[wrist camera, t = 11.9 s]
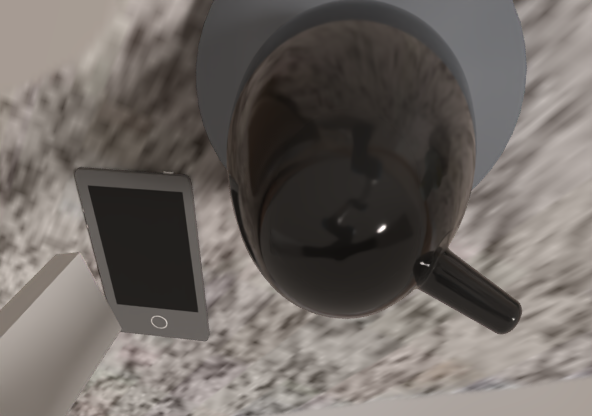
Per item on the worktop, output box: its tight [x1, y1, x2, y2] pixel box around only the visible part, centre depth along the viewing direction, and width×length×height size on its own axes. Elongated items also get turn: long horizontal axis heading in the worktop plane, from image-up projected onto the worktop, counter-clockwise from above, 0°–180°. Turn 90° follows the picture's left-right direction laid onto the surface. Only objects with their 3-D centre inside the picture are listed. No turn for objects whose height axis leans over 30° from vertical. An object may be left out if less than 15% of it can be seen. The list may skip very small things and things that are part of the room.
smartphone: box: [75, 167, 210, 341], centre depth 35 cm, size 15×8×1 cm, turn 0°
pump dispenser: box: [227, 0, 522, 334], centre depth 18 cm, size 10×10×15 cm
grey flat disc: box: [196, 0, 527, 189], centre depth 25 cm, size 17×17×2 cm
